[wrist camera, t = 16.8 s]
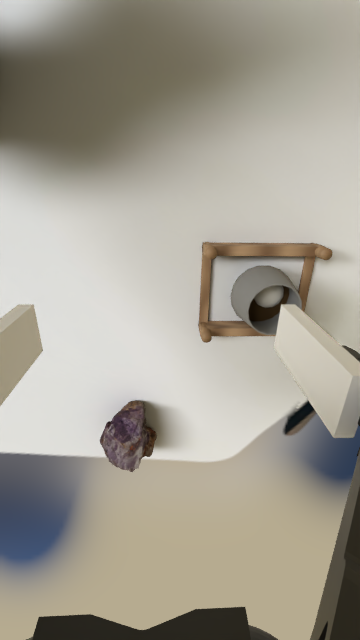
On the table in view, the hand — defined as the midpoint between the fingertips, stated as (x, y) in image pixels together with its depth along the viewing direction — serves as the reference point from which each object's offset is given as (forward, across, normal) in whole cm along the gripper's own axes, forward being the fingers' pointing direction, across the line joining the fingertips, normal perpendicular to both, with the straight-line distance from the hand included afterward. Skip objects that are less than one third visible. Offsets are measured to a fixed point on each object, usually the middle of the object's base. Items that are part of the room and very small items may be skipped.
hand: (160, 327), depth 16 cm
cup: (+32, +15, -8) cm, 36 cm away
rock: (+32, -7, -36) cm, 49 cm away
